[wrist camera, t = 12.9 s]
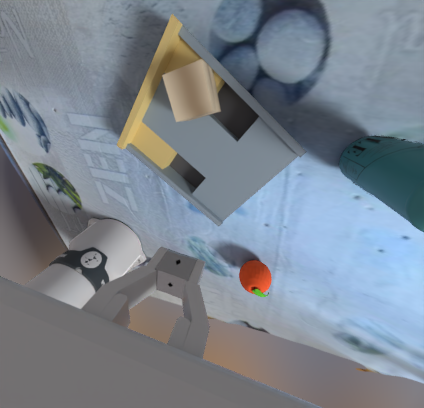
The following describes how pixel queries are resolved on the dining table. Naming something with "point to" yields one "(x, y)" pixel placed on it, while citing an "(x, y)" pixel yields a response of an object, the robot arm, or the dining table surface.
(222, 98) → the tray
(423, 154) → the beverage bottle
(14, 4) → the dining table surface
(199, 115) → the cube
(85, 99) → the dining table surface
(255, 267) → the clementine
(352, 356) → the dining table surface
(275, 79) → the dining table surface
